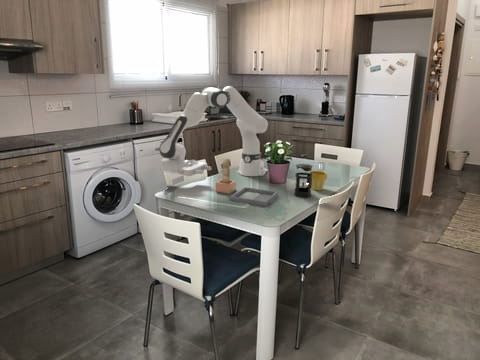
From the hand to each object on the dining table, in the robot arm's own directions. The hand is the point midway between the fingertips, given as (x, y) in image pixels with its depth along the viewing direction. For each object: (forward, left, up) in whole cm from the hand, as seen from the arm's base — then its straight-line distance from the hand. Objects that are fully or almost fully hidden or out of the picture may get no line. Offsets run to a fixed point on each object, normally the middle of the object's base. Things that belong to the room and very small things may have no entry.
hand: (206, 170), depth 226 cm
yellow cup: (-30, +57, -11) cm, 65 cm away
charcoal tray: (+4, +31, -11) cm, 33 cm away
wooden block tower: (0, +12, -10) cm, 16 cm away
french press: (-14, +53, -11) cm, 56 cm away
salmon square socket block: (0, +12, -11) cm, 16 cm away
